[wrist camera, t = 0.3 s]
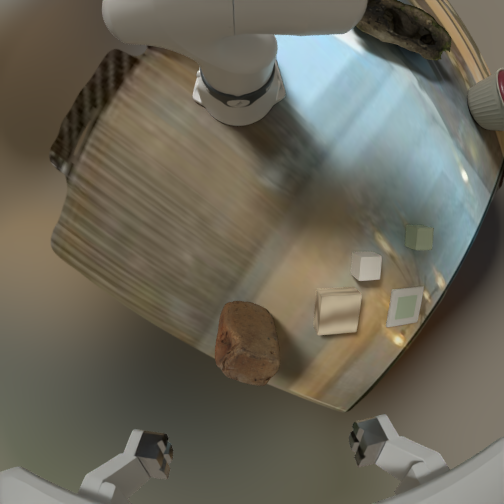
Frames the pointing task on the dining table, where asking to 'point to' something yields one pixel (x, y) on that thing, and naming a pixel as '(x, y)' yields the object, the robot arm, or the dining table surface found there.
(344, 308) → the base block
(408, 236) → the sage cube
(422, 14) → the hollow geode rock
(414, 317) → the card
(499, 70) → the canister
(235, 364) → the block
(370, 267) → the offwhite cube
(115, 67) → the dining table surface
